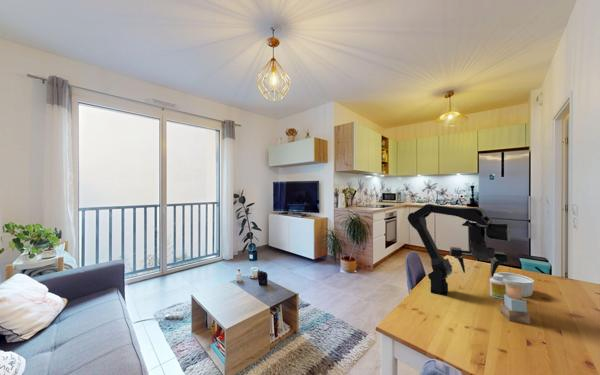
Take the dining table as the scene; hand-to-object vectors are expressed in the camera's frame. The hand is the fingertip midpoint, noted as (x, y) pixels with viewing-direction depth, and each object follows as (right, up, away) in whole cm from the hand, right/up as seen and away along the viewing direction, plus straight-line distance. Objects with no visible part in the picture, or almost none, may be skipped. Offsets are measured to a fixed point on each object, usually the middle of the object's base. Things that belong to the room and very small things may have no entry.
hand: (477, 274), depth 93 cm
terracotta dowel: (+6, -5, -10) cm, 13 cm away
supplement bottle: (+14, -13, +7) cm, 20 cm away
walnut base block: (+6, -13, -10) cm, 17 cm away
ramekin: (+26, -13, +11) cm, 31 cm away
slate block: (+5, -9, -11) cm, 15 cm away
